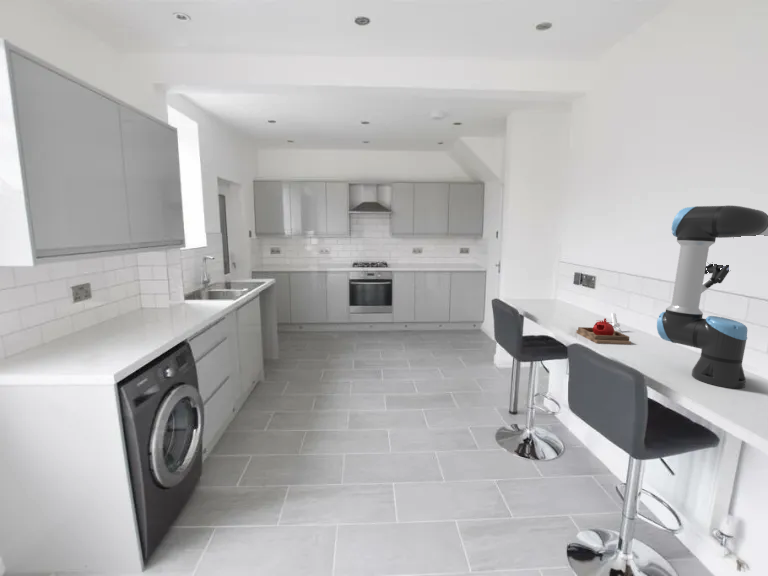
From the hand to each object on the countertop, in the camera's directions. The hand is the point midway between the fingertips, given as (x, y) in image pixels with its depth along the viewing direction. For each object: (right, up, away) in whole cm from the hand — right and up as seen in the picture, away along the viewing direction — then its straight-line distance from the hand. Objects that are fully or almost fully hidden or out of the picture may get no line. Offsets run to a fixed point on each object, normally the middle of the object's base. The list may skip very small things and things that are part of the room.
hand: (687, 289), depth 174 cm
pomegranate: (-26, -24, +23) cm, 42 cm away
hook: (-10, -24, +40) cm, 48 cm away
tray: (-26, -26, +23) cm, 43 cm away
